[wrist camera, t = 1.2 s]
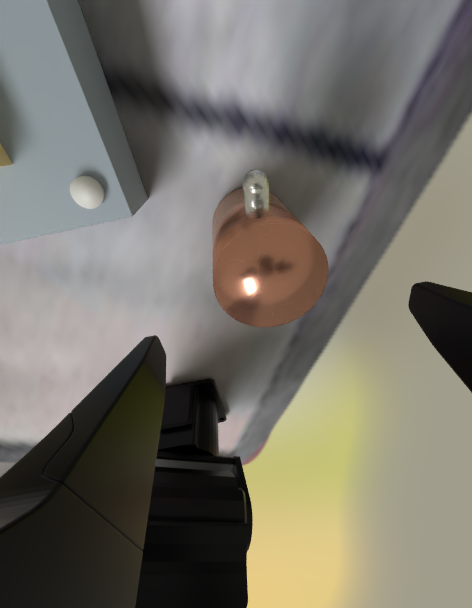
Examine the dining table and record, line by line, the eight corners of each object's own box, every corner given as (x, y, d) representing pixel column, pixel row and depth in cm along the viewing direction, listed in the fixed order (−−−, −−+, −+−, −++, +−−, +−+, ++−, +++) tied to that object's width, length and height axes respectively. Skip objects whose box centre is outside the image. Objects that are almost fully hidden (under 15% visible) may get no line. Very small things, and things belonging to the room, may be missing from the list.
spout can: (288, 252, 20) (328, 315, 13) (221, 265, 20) (226, 335, 13) (279, 145, 16) (328, 157, 9) (196, 163, 16) (186, 188, 9)
